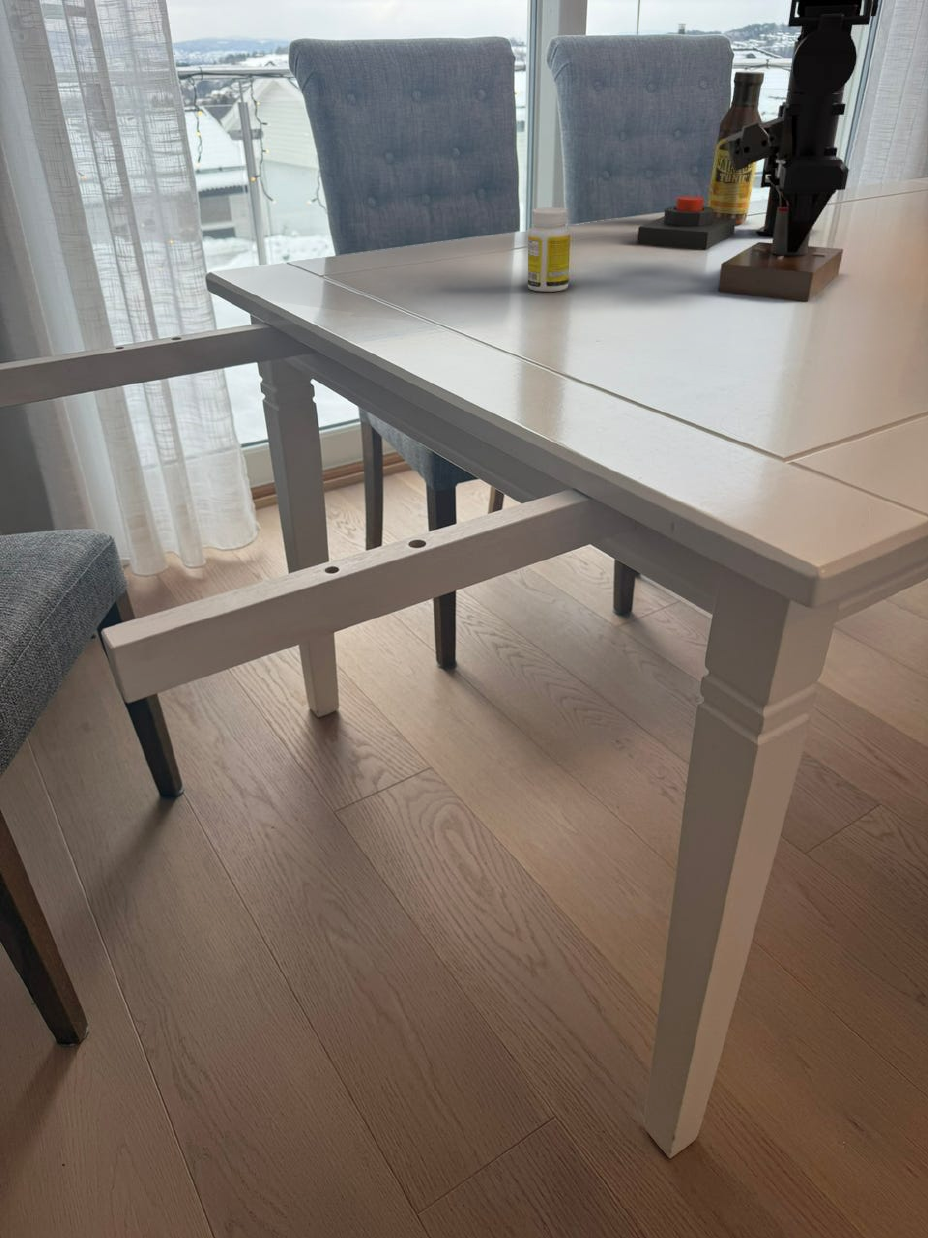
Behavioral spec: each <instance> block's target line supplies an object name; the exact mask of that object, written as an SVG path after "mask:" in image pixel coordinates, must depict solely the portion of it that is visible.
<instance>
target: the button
mask: <svg viewBox="0 0 928 1238" xmlns="http://www.w3.org/2000/svg"><path fill="white" fill-rule="evenodd" d="M704 202H705V201H704V197H703V196H698V195H697V196H696V195H684V196H678V197H677V198H676V205H675V206H676V210H679V211H701V210H703V206H704Z"/></svg>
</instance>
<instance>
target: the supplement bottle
mask: <svg viewBox="0 0 928 1238" xmlns="http://www.w3.org/2000/svg"><path fill="white" fill-rule="evenodd" d="M567 224H568V209H567V208H565V207H560V206H559V207H558V206H546V207H545V206H544V207H537V208H534V209H532V210H531V225H533V226H532V227H530V228H529V230H528V233H527V287H528V289H529V290H531V291H535V292H543V293H552V292H561V291H564V290H566V289H567V288H568V287H569V281H570V280H569V279H570V278H569V277H570V256H571V255H570V252H571V251H570V250H571V230H570V228H569V227H567V226H566V225H567Z"/></svg>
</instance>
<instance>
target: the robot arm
mask: <svg viewBox="0 0 928 1238" xmlns="http://www.w3.org/2000/svg"><path fill="white" fill-rule="evenodd" d="M790 1H791V2H790V9H789V17H788V24H787V27H788V28H797V27H800V33H799V35H798V36H797V38H796V40H795V41H794V45H793V50H792V58H791V64H790V65H791V66H790V70H789V78H788V83H787V84H788V85H787V92H786V98H785V101H782V104H780V105H779V106H778V113H777V117H775V118H773V119H770V120H768V121H765V122H762V124H759V123H758V122H757V121H756V122H754V124H752V125H749V126H744V127H743V129H742V131H741V132H738V133H736V134H733V135H731V136H729V137H727V138H726V141H727V146H728V151H729V155H730V160H731V165H732V168H733V169H734V170H735V171H736V170H740V169H743V168H746V167H748V166H749V164H751V163H754V162H757V163H758V162H759V161H762V160H763V165H762V174H761V180H760V186H759V187H760V189H764V188H769V190H768V191H769V192H768V198H767V204H766V209H765V218H764V224H763V226H762V227H759V228H758V229H756V230H755V235H763V236H773V235H774V228H775V222H776V215H777V210H778V207H787V251H788V252H797V251H798V250H799V248H800V247H801V245H802V243H803V242H804V240H805V238H806V237H807V235H808V233H809V232H810V230H811V232H812V230H813V227H814V225H815V223H816V222H817V221H818V219H819V217H820V216H821V214H822V213H823V211H824V209H825V207H826V206H827V205H828V203H829V201H830V200H831V198H832V197H833V195H835V194H836V192H837V191H843V190H846V188H847V187H846V186H847V182H848V177H849V171H850V169H849V167H848V166H847V165H846V163H845V162H844V160H842V159H841V158H840V157H838V156H837V153H838V147H836V146H835V145H836V139H837V138H836V137H837V133H838V126H839V121H840V116H844V115H845V110H846V103H844V102H843V99H844V91H845V87H846V84H847V83H848V81H850V79H851V77H852V75H853V73H854V71H855V68H856V65H857V59H858V55H857V47H856V44H855V42H854V40H853V36H852V29H853V26H869V25H870V22H871V17H876V16H877V12H878V8H879V2H880V0H790ZM862 7H863V10H862ZM861 10H862V14H861ZM796 14H797V15H798V16H796Z"/></svg>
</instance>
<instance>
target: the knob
mask: <svg viewBox="0 0 928 1238" xmlns="http://www.w3.org/2000/svg"><path fill="white" fill-rule="evenodd" d="M811 233H812V231H811V230H810V232H809V233H808V235H807V237H806V238H805V240H804V242H803V243H802V245H801V247H800V248H799V250H798V251H797V252H788V251H787V207H778V210H777V215H776V222H775V228H774V235H772V242H771V243H772V248H771V252H772V253H774V254H777V255H784V256H799V255H805V254H806V253H807V250H808V246H809V245H810V240H811V239H810V238H811Z"/></svg>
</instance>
